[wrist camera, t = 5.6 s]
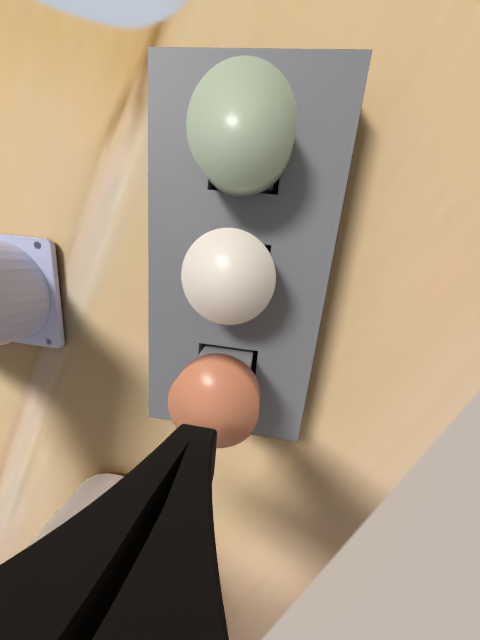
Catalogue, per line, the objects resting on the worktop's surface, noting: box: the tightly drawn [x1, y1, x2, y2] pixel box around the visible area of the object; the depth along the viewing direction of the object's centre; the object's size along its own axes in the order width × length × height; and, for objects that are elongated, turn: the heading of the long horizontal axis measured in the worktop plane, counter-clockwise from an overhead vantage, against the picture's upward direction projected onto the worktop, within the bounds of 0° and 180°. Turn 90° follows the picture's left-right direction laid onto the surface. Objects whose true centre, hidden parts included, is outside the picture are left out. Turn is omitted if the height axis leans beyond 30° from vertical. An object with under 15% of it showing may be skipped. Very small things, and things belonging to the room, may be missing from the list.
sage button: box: [186, 55, 297, 197], centre depth 11 cm, size 4×4×4 cm
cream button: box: [181, 228, 276, 325], centre depth 13 cm, size 4×4×4 cm
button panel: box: [148, 47, 372, 442], centre depth 14 cm, size 20×10×2 cm, turn 174°
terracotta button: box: [168, 344, 260, 448], centre depth 13 cm, size 4×4×4 cm
